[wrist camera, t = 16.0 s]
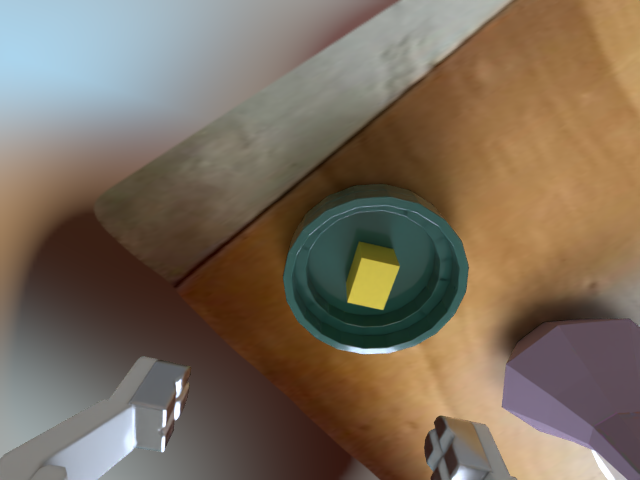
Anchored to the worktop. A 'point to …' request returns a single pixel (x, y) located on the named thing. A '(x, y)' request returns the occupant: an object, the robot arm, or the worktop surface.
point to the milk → (607, 468)
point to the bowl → (411, 280)
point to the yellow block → (371, 275)
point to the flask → (581, 386)
